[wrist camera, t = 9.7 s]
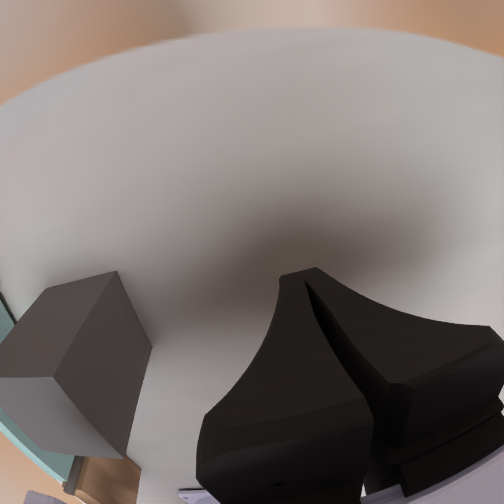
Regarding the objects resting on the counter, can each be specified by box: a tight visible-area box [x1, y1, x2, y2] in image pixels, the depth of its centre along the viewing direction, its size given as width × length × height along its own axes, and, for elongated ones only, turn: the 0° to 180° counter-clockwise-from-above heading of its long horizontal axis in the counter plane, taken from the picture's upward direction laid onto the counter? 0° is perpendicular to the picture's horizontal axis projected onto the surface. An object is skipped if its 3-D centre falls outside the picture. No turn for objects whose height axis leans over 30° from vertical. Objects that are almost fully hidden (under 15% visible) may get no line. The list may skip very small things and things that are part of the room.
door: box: [0, 300, 75, 482], centre depth 11 cm, size 10×2×5 cm, turn 13°
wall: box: [62, 455, 141, 504], centre depth 12 cm, size 20×2×5 cm, turn 13°
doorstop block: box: [0, 271, 152, 459], centre depth 10 cm, size 4×4×6 cm
